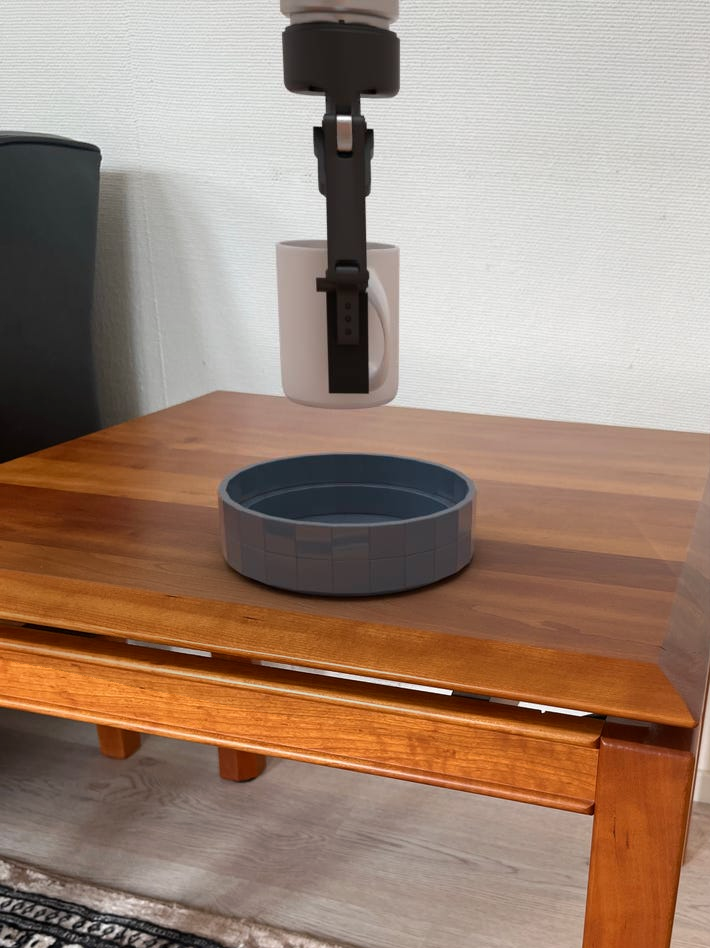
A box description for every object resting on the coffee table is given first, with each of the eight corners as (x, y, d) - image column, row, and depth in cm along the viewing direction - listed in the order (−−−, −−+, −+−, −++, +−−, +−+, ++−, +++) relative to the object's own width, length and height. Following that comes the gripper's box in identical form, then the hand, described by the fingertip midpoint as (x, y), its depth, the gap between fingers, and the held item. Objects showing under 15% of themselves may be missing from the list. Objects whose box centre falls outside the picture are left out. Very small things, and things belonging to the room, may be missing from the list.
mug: (329, 426, 68) (325, 255, 63) (264, 391, 77) (257, 239, 73) (441, 415, 72) (445, 254, 68) (367, 383, 81) (366, 239, 77)
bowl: (210, 603, 69) (203, 526, 67) (235, 515, 87) (231, 451, 84) (488, 599, 72) (492, 525, 70) (459, 514, 89) (461, 452, 87)
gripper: (412, 4, 55) (409, 412, 64) (391, 46, 76) (391, 350, 85) (271, -4, 54) (289, 411, 63) (288, 41, 75) (300, 349, 84)
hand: (347, 376), depth 74 cm, fingers closed on mug, 11 cm apart
